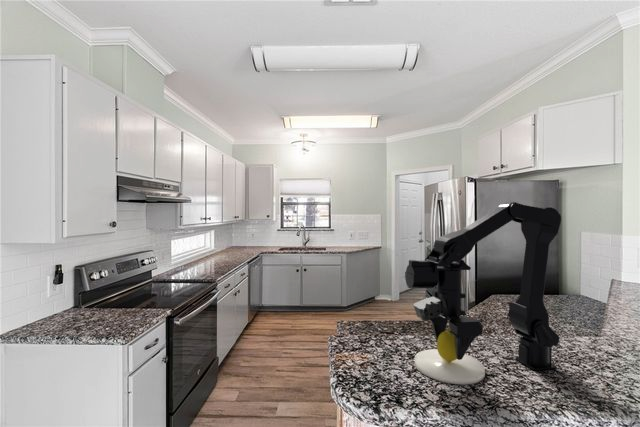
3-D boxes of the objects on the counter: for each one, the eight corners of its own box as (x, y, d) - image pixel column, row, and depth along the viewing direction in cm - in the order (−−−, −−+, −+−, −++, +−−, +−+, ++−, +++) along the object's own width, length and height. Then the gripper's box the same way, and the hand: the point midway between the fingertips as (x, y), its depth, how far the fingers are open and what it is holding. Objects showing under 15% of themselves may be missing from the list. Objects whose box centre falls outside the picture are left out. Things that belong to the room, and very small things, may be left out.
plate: (460, 352, 89) (460, 347, 89) (500, 381, 73) (500, 376, 73) (404, 355, 87) (404, 350, 87) (433, 386, 71) (433, 381, 71)
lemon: (463, 368, 77) (463, 334, 77) (438, 366, 78) (438, 333, 78) (458, 358, 82) (458, 327, 82) (435, 356, 83) (435, 325, 84)
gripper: (402, 280, 88) (402, 338, 88) (437, 298, 70) (436, 371, 70) (441, 279, 90) (441, 336, 90) (484, 296, 72) (484, 368, 71)
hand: (448, 351), depth 80 cm, fingers open, 9 cm apart
